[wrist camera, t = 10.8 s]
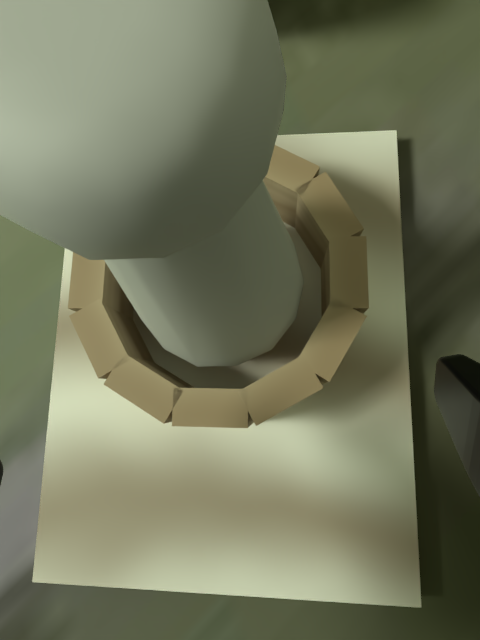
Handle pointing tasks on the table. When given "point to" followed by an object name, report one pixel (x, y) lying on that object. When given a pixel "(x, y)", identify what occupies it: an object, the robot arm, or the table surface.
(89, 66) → the salt shaker
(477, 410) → the robot arm
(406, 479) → the socket
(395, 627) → the table surface
